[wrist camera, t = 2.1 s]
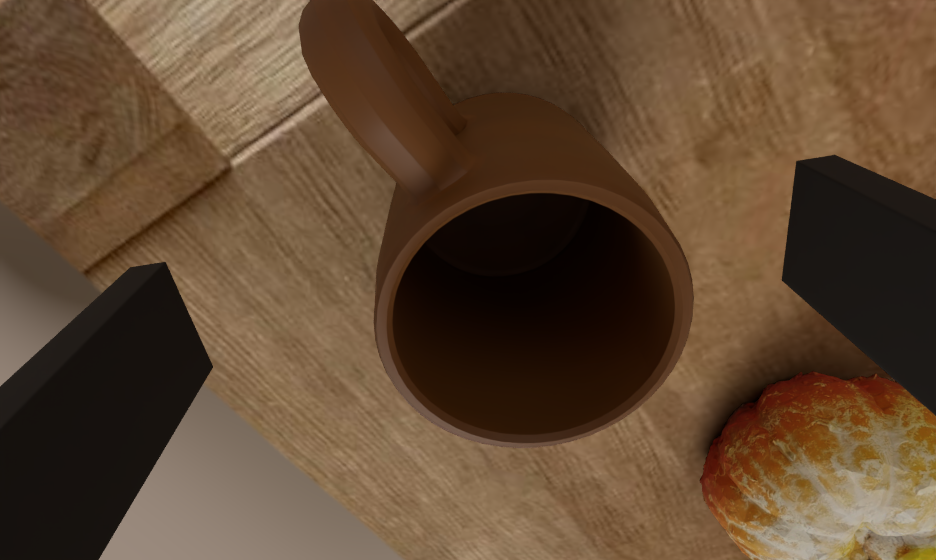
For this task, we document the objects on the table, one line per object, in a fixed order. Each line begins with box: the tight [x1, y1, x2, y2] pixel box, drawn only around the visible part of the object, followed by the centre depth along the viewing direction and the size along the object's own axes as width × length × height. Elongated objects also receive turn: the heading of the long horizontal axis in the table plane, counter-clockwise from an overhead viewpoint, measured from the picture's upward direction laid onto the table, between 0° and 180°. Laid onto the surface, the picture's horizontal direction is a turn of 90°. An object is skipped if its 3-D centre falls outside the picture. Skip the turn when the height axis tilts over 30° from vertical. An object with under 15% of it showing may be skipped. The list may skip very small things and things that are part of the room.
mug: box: [299, 0, 694, 448], centre depth 16 cm, size 12×8×9 cm, turn 34°
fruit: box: [700, 371, 936, 560], centre depth 25 cm, size 11×10×8 cm
